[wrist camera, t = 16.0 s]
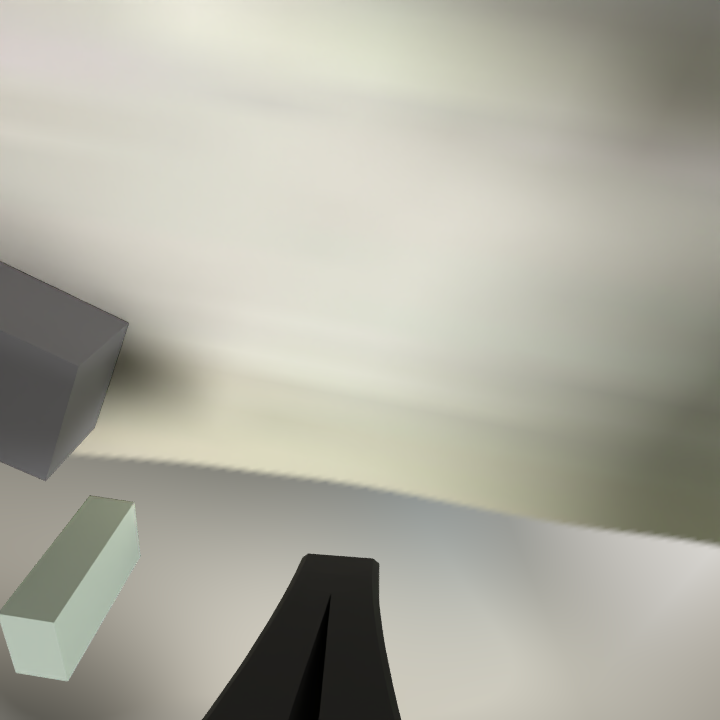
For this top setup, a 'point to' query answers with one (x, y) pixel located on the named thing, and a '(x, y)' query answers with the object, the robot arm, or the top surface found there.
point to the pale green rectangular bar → (71, 589)
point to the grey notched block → (50, 371)
